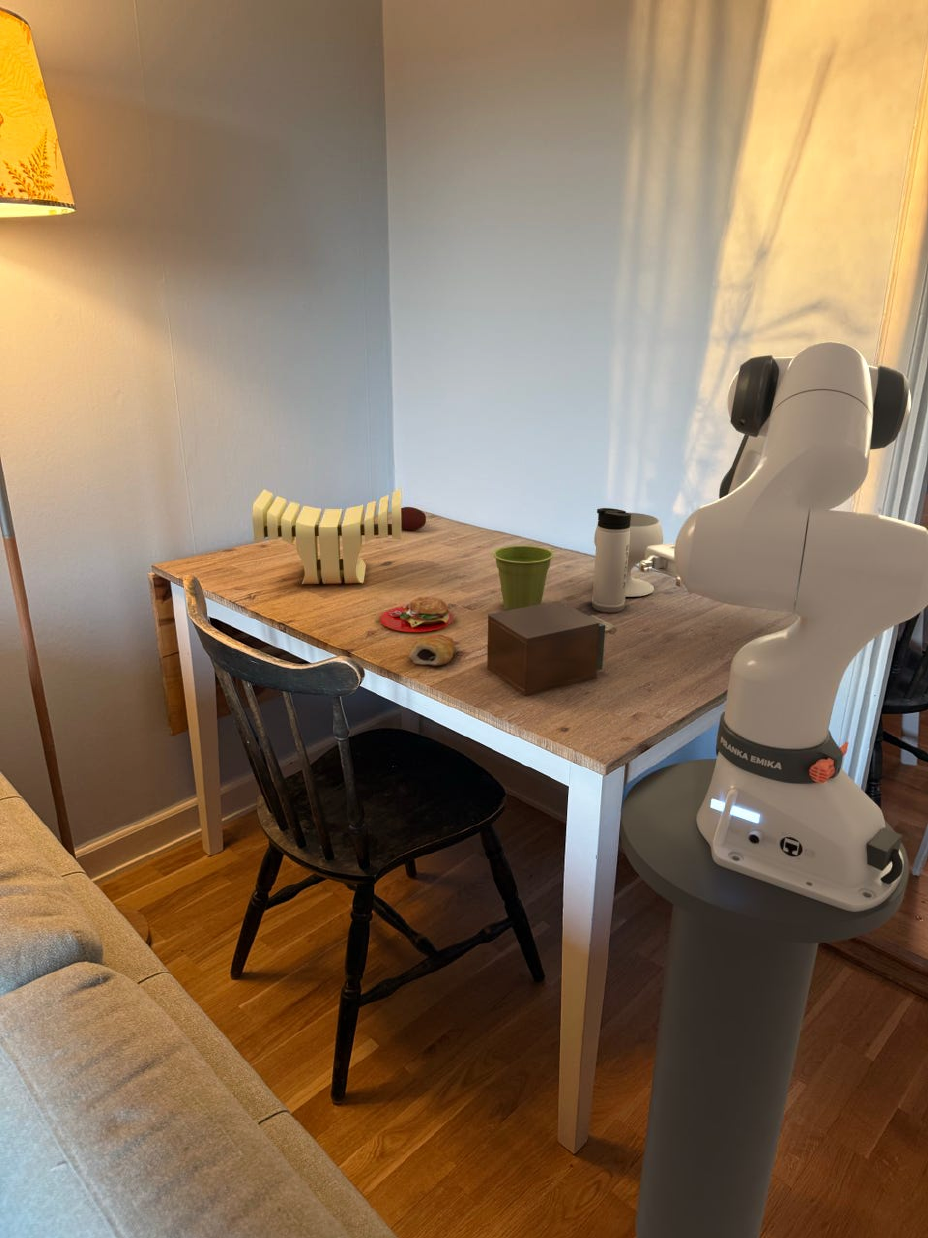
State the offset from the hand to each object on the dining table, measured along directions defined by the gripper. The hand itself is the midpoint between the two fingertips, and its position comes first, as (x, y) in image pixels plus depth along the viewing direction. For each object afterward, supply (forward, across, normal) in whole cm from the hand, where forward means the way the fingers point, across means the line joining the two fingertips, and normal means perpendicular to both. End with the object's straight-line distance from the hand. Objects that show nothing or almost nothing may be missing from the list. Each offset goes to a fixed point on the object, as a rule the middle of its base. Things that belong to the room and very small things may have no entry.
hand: (659, 574), depth 141 cm
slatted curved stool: (+36, -63, +14) cm, 74 cm away
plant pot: (+10, -27, +14) cm, 32 cm away
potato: (+4, -90, +14) cm, 92 cm away
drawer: (+19, 0, +12) cm, 23 cm away
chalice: (-15, -26, +14) cm, 33 cm away
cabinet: (+24, 0, +13) cm, 27 cm away
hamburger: (+31, -31, +13) cm, 46 cm away
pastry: (+36, -14, +13) cm, 41 cm away
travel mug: (-5, -19, +14) cm, 24 cm away
